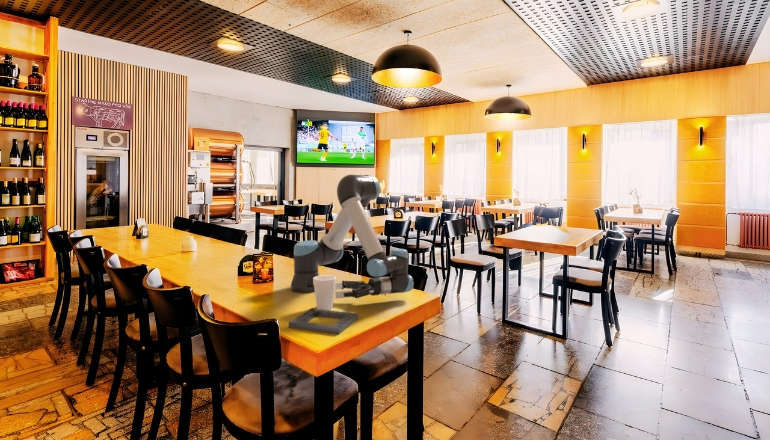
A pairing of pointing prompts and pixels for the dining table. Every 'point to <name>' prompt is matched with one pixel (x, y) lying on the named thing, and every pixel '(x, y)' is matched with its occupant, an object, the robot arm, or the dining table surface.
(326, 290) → the foam cup
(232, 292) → the dining table surface
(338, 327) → the square frame
